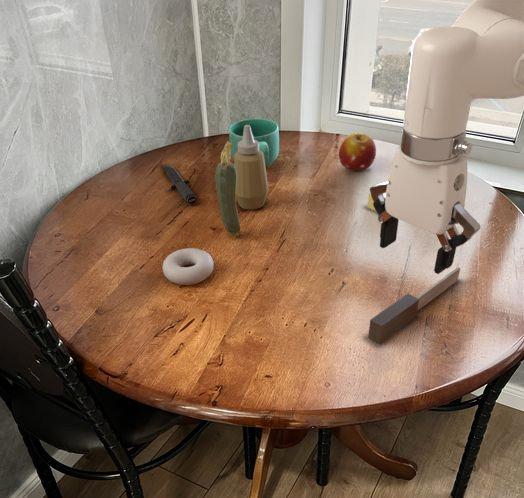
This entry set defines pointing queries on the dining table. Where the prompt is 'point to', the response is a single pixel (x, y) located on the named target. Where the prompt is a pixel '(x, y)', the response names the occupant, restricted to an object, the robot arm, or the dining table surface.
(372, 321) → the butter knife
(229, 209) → the vegetable
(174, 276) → the donut
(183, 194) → the knife
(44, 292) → the dining table surface
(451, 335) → the dining table surface
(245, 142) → the squeeze bottle
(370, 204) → the butter slice
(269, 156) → the mug
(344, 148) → the fruit
